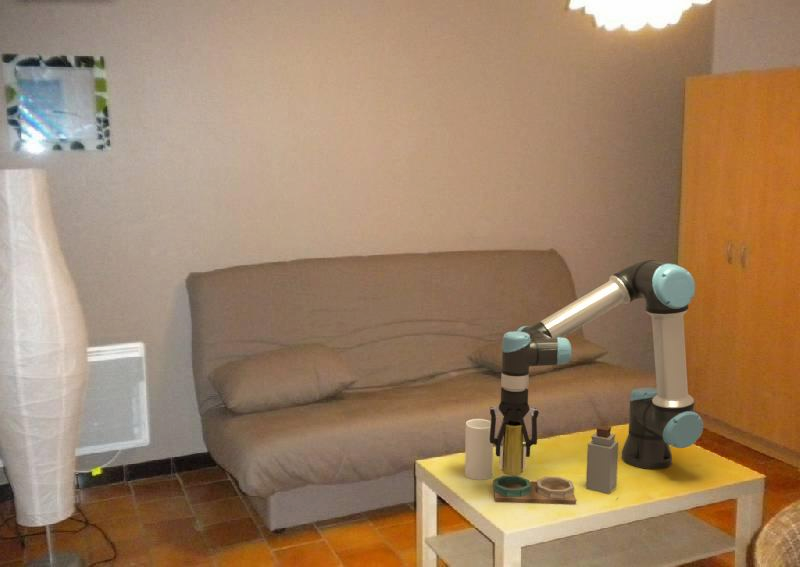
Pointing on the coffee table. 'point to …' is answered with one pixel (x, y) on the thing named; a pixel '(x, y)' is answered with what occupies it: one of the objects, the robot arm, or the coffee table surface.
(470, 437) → the cup
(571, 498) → the board
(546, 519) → the coffee table surface
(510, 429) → the vase
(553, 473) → the coffee table surface
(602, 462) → the perfume bottle
